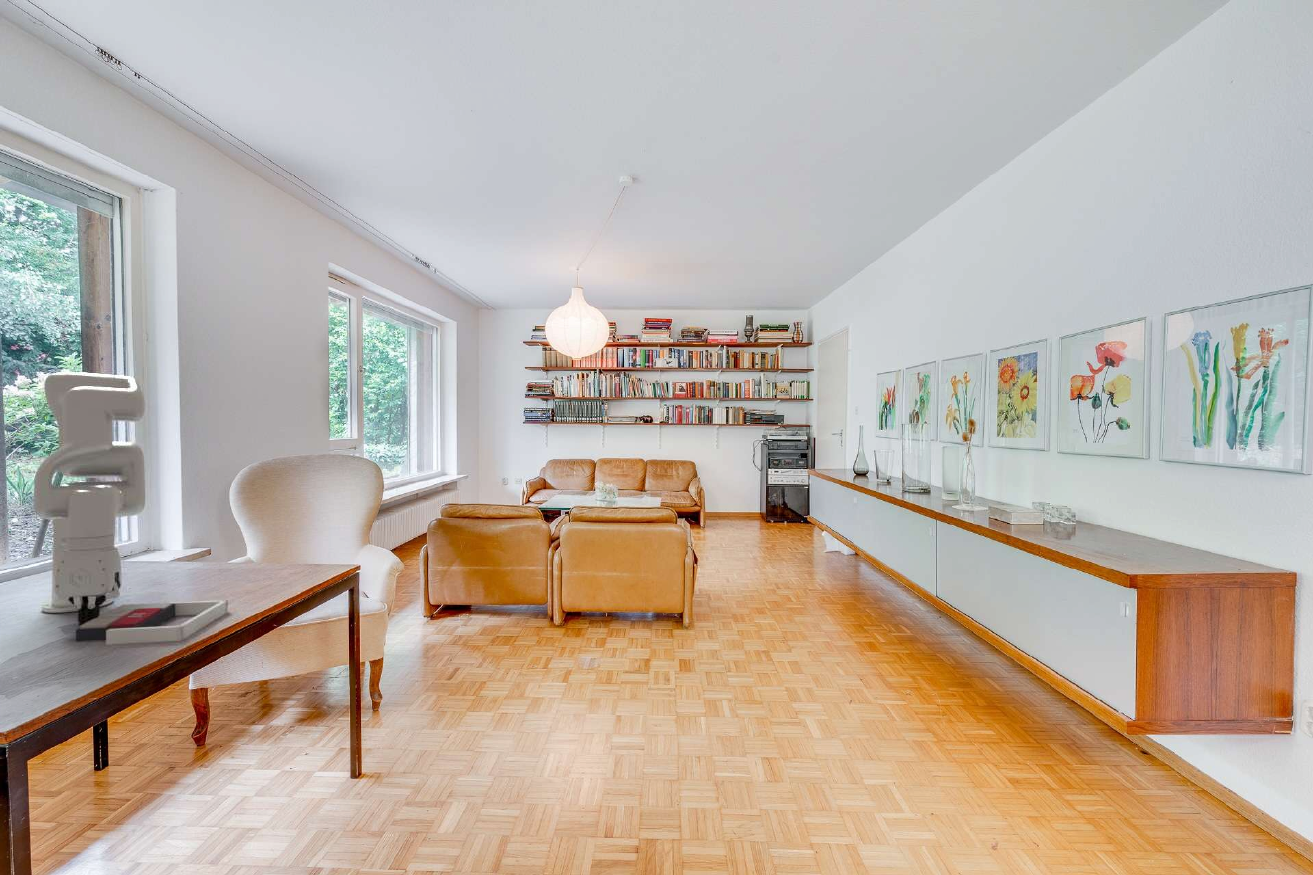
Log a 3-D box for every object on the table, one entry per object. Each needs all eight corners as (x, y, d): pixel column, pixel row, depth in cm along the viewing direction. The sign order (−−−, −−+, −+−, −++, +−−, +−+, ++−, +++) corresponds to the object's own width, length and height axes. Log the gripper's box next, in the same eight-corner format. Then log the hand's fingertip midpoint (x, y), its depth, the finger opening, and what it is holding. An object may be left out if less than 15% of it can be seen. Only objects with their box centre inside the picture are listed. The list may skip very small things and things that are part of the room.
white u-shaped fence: (164, 614, 136) (164, 602, 136) (227, 611, 140) (227, 600, 140) (105, 644, 117) (106, 630, 117) (181, 640, 120) (181, 626, 120)
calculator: (74, 626, 118) (121, 602, 132) (74, 645, 118) (121, 619, 132) (136, 623, 121) (176, 599, 135) (136, 642, 121) (176, 617, 135)
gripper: (35, 547, 119) (33, 632, 119) (119, 546, 122) (116, 628, 122) (64, 540, 126) (61, 621, 126) (141, 539, 130) (139, 618, 130)
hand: (88, 624), depth 124 cm, fingers closed
